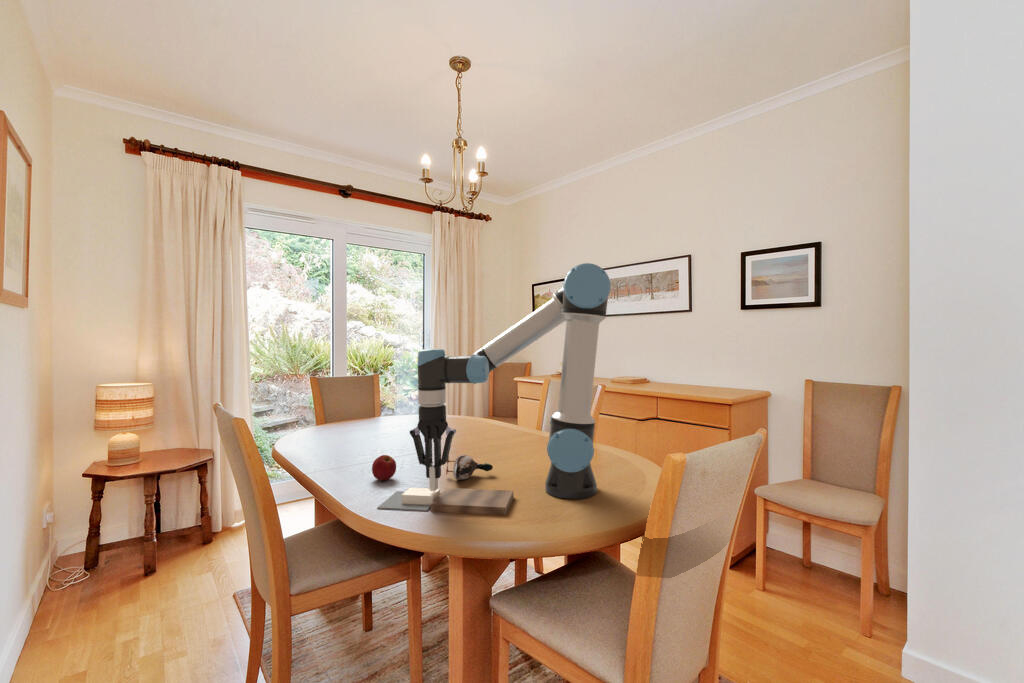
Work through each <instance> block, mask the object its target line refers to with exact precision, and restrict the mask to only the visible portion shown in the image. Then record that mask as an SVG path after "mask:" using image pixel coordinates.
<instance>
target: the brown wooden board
mask: <svg viewBox="0 0 1024 683" xmlns="http://www.w3.org/2000/svg"><path fill="white" fill-rule="evenodd" d="M513 500H514V490H511V489H510V490H508V489H507V490H505V489H481V488H480V489H478V488H459V487H458V488H456V487H444V489H443V490H442V491H440V495H439V496H438V497H437V498H436V499H435V500H434V501H433V502H432V503H431V508H430V512H431V513H432V512H436V513H437V512H438V513H453V514H455V513H456V514H470V515H471V514H472V515H473V514H474V515H491V516H492V515H493V516H494V515H495V516H506V515H507V513H508V511H509V508H510V507H511V504H512V502H513Z"/></svg>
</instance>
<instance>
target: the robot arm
mask: <svg viewBox="0 0 1024 683" xmlns="http://www.w3.org/2000/svg"><path fill="white" fill-rule="evenodd" d="M611 288H612V286H611V280H610V277H609V274H607V271H606V270H604V269H603V268H602V267H601V266H599V265H597V264H594V263H592V262H591V263H589V262H585V263H580V264H577V265H575V266H574V267H572V268H571V269H570V270H569V271H568V272H567V273H566V276H564V280H563V285H562V287H561V288H559V289H558V290H557V291H556V292H553V294H552V298H551V299H550V300H549V301H547V302H546V303H544V304H542V306H540V307H539V308H537V309H536V310H534V311H533V312H531V313H529V314H528V315H526V316H525V317H524V318H522V319H521V320H520V321H518V322H517V323H516V324H513V325H512V326H510V327H509V328H508V329H507V330H505V331H503V332H502V333H501V334H499V335H498V336H497V337H495V338H493V340H491V341H489V342H488V343H486V344H485V345H484V346H482V347H480V348H479V349H478V350H476V351H475V352H473V353H471V354H469V355H455V356H454V355H451V356H450V355H446V351H445V350H444V349H443V348H433V349H432V348H430V349H429V348H428V349H420V350H419V351H418V353H417V366H416V367H417V385H418V386H417V388H418V390H417V394H418V402H417V403H418V404H419V406H418V422H417V426H416V427H415V428H413V429H411V430H409V435H410V436H411V437H412V440H413V443H414V447H415V451H416V455H417V460H418V463H419V465H423V466H424V467H425V476H426V478H427V479H429V488H430V491H436V490H437V489H439V479H440V478H441V476H442V466H444V465H446V463H447V461H448V456H449V455H450V451H451V446H452V442H453V438H454V436H455V434H456V432H457V430H456V429H455V428H452V427H450V426H449V424H448V422H447V406H446V402H447V399H446V398H447V397H446V395H447V394H446V393H447V390H446V388H447V387H446V385H447V384H473V385H475V384H484V383H486V382H487V381H488V380H489V375H490V373H491V372H493V371H494V370H495V369H497V368H498V367H500V366H501V365H502V364H504V363H505V362H507V361H508V360H509V359H511V358H512V357H514V356H515V355H517V354H519V353H520V352H522V351H523V350H525V349H526V348H528V347H529V346H530V345H532V344H533V343H535V342H536V341H538V340H540V339H541V338H542V337H544V336H545V335H546V334H548V333H550V332H551V331H552V330H554V329H555V328H557V327H558V326H560V325H561V324H563V323H564V322H566V323H565V325H566V326H565V334H564V343H563V344H564V345H563V354H562V355H563V356H562V362H561V364H562V365H561V375H560V384H559V393H558V403H557V404H558V405H557V410H556V411H555V412H553V413H552V414H551V415H550V421H549V425H550V426H549V436H548V442H547V444H546V445H547V447H546V451H547V456H548V458H549V461H550V466H549V469H548V473H547V476H546V479H545V482H544V483H545V488H544V490H545V492H546V493H547V494H548V495H550V496H552V497H555V498H561V499H565V500H566V499H567V500H568V499H569V500H579V499H587V498H590V497H593V496H594V495H596V494H597V492H598V491H597V490H598V489H597V488H598V487H597V486H598V485H597V481H596V477H595V475H594V472H593V469H592V466H591V465H592V464H591V462H592V460H593V458H594V453H595V448H594V436H595V427H596V426H595V425H596V420H595V419H594V417H593V415H591V409H592V408H591V407H592V400H593V398H592V397H593V389H594V388H593V387H594V377H595V369H596V368H595V367H596V358H597V356H596V355H597V350H598V338H599V328H600V324H601V323H602V322H603V321H604V320H605V319H606V317H607V311H608V308H607V307H608V300H609V295H610V293H611ZM444 434H445V435H446V437H445V441H444V445H443V449H442V437H443V435H444ZM421 435H422V436H423V437H424V446H425V447H424V446H423V442H422V438H421ZM433 453H434V454H433ZM449 457H450V456H449ZM433 458H434V459H433ZM433 460H434V461H433Z"/></svg>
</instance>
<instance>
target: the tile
mask: <svg viewBox="0 0 1024 683" xmlns="http://www.w3.org/2000/svg"><path fill="white" fill-rule="evenodd" d="M403 492H404V493H403V494H402V504H422V505H431V503H432V502H433V501H434V500H435V499H436V498H437V497H438V496H439V495H440V493H441V489H440V488H438V489H437V490H436V491H430V487H429V488H428V487H427V488H426V487H409V488H407V490H405V491H403Z"/></svg>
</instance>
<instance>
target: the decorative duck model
mask: <svg viewBox="0 0 1024 683" xmlns="http://www.w3.org/2000/svg"><path fill="white" fill-rule="evenodd" d="M449 458H450V456H448V461H447V462H446V463H447V465H446V470H445V471H446V472H445V474H446V475H447V476H448V473H453V477H454V479H455V480H458V481H461V480H463V481H464V480H467V479H469V478H471V476H472V475H473V474H474V471H475V470H482V471H485V472H489V471H492V470H493V467H494V466H493V465H492V464H490V463H488V462H485V463H478V462H476V461H475V460H474V459H473V457H472V456H469V455H465V454H463V455H459V456H457V457H456V458H455V460H450V459H449ZM450 462H451V463H452V462H454V463H453V469H452V470H449V469H448V468H449V465H448V464H449V463H450Z"/></svg>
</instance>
